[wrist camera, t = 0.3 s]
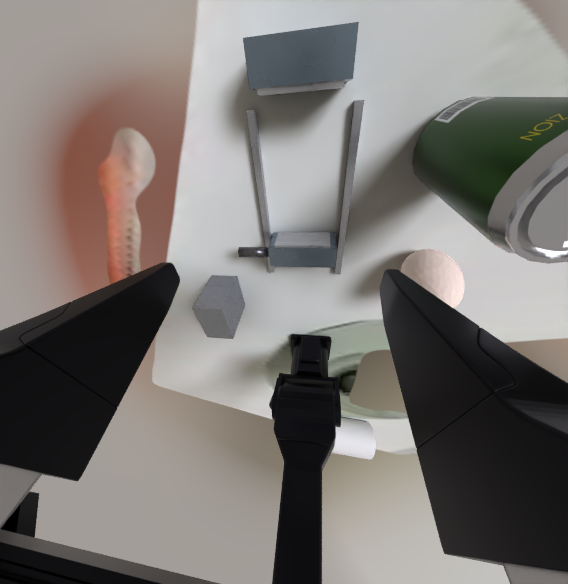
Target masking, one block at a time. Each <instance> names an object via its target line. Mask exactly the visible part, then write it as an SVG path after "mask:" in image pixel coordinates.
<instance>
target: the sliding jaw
mask: <svg viewBox="0 0 568 584" xmlns="http://www.w3.org/2000/svg"><path fill="white" fill-rule="evenodd" d="M238 254H239V257H269V260H270V266H284V267H331V268H335V262H336V254H337V245H336V235H335V233H330V232H278V233H274V234H273V236H272V239H271V242H270V245H269V248H268V247H239V249H238Z"/></svg>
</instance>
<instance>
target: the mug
mask: <svg viewBox="0 0 568 584" xmlns="http://www.w3.org/2000/svg"><path fill="white" fill-rule="evenodd" d="M375 447H376V442H375V434H374V430H373V428H372V426H371V424H370V423H369V422H364V421H359V420H354V419H348V418H343V417H341V427H336V438H335V445H334V448H333V450H332V452H331V453H336V454H342V455H347V456H353V457H358V458H363V459H369V460H371V459H372V458H373V456H374V454H375Z"/></svg>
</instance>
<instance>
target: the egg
mask: <svg viewBox="0 0 568 584" xmlns="http://www.w3.org/2000/svg"><path fill="white" fill-rule="evenodd" d="M400 272H402V273H403V274H405V275H406V276H408V277H409V278H411V279H412V280H413V281H415V282H416V283H418V284H419V285H421V286H422V287H423V288H425V289H426V290H428V291H429V292H431V293H432V294H434V295H435V296H436V297H438V298H439V299H441V300H442V301H444V302H445V303H447V304H448V305H449V306H451V307H452V308H455V307H456V306H458V305H459V303H460V302H461V300H462V298H463V294H464V278H463V274H462V272H461V270H460V268H459V266H458V265H457V264H456V262H455V261H454V260H453V259H452V258H451V257H449V256H448V255H447V254H445V253H443V252H441V251H437V250H432V249H422V250H418V251H416V252H414V253H412V254H410V255H409V256H408V257H407V258H406V259H405V261H404V262H403V264H402V266H401V270H400Z"/></svg>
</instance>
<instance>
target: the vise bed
mask: <svg viewBox="0 0 568 584" xmlns="http://www.w3.org/2000/svg"><path fill="white" fill-rule="evenodd" d="M358 23H359V22H355V23H348V24H341V25H334V26H326V27H319V28H312V29H305V30H298V31H290V32H283V33H276V34H269V35H262V36H254V37H247V38H243V42H244V50H245V57H246V65H247V73H248V81H249V89H252V90H257V95H264V96H266V95H276V94H287V93H297V92H307V91H318V90H328V89H338V88H343V87H344V86H345V82H348V81H350V80H351V79H353V71H354V61H355V52H356V42H357V33H358ZM363 105H364V100H357V101H354V107H353V115H352V124H351V133H350V142H349V150H348V159H347V168H346V177H345V185H344V194H343V203H342V212H341V220H340V229H339V238H338V247H337V255H336V264H335V274H340V272H341V265H342V258H343V251H344V243H345V236H346V229H347V221H348V214H349V207H350V200H351V192H352V185H353V178H354V171H355V163H356V156H357V149H358V142H359V134H360V127H361V120H362V112H363ZM246 113H247V120H248V127H249V134H250V141H251V148H252V155H253V162H254V169H255V176H256V183H257V190H258V197H259V204H260V211H261V218H262V225H263V232H264V239H265V246H266V247H268V248H269V245H270V242H271V232H270V224H269V215H268V207H267V199H266V190H265V182H264V174H263V165H262V157H261V149H260V140H259V132H258V123H257V115H256V109H254V110H246ZM267 260H268V267H269V272H274V271H275V266H270V260H269V257H267Z"/></svg>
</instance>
